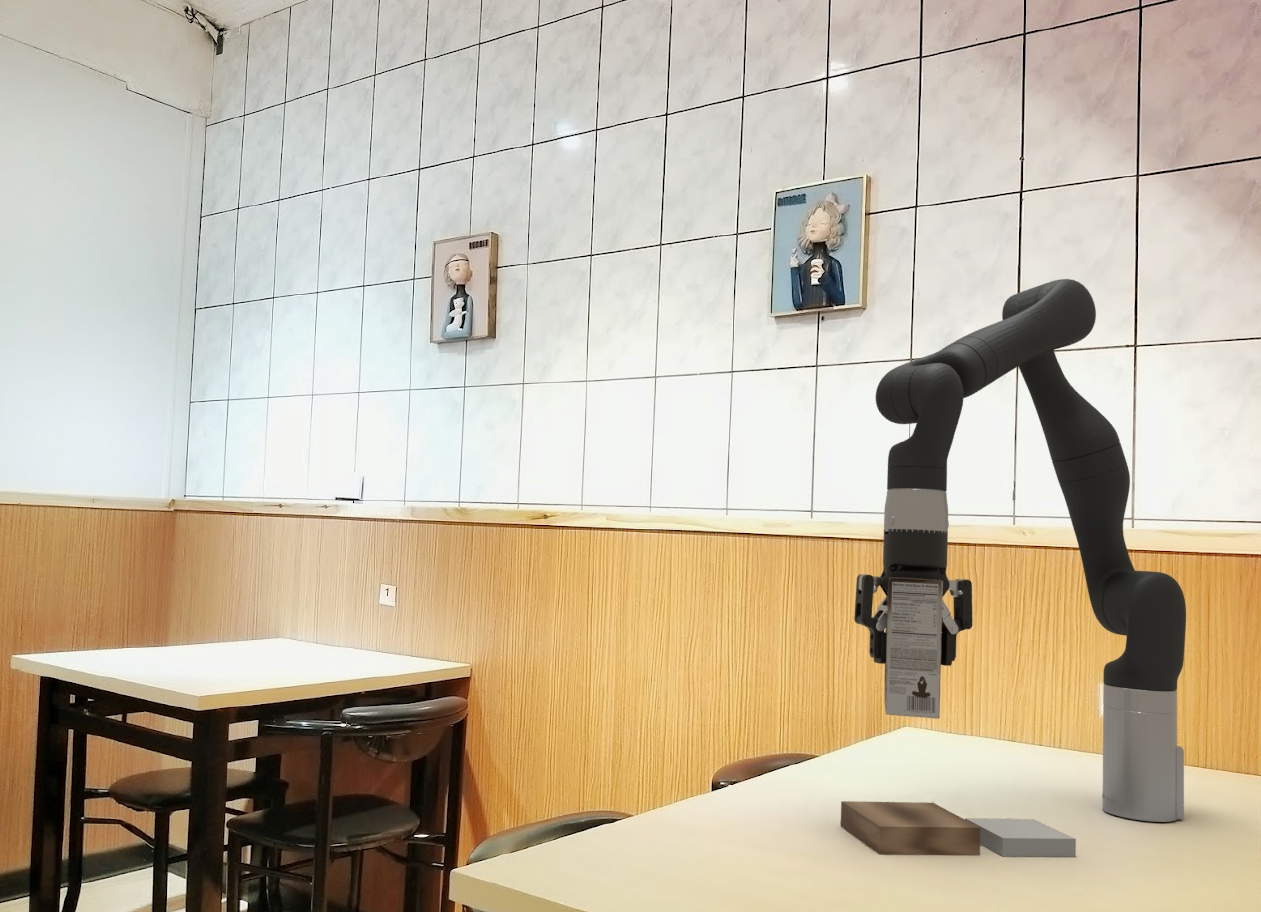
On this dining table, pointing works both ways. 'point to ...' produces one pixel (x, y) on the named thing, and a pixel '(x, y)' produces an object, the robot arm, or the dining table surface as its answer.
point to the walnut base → (910, 828)
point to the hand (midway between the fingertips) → (912, 664)
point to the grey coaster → (1023, 838)
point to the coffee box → (913, 647)
